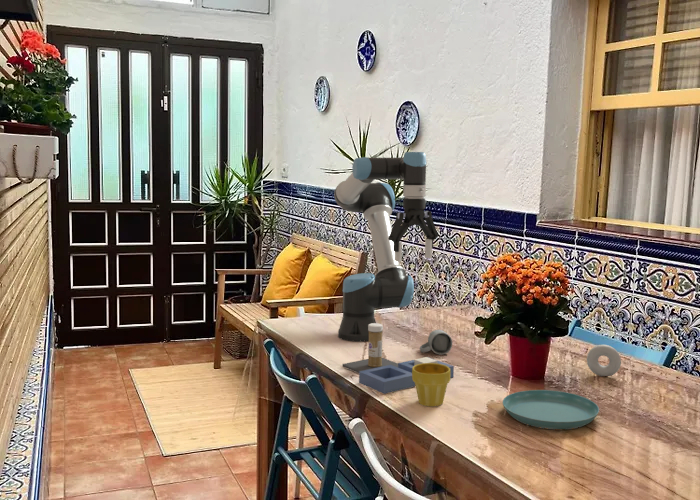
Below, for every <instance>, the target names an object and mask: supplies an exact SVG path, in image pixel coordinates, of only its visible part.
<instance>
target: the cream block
mask: <svg viewBox="0 0 700 500" xmlns="http://www.w3.org/2000/svg"><path fill="white" fill-rule="evenodd" d="M428 357H429V356H426V357H420V358H416V359H413V360H414V366H415V365H417V364H422V363H437V360H438V359H435V360H434V358H432V357H429V358H428ZM431 358H432V359H431Z"/></svg>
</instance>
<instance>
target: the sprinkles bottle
mask: <svg viewBox="0 0 700 500" xmlns="http://www.w3.org/2000/svg"><path fill="white" fill-rule="evenodd" d="M368 330H369V341H368V346H367V347H368V348H367V349H368V350H367V355H368V358H367V359H368V366H370V367H380V366H382V358H383V330H384V328H383V324H382V323H378V322H376V323H371V324H369V325H368Z"/></svg>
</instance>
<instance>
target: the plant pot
mask: <svg viewBox="0 0 700 500" xmlns="http://www.w3.org/2000/svg"><path fill="white" fill-rule="evenodd" d="M412 380H413V381H414V382H415V390H416V395H417V400H418V404H420V405H421V406H423V407H430V408H431V407H432V408H433V407H439V406H441V405H443V403H444V400H445V396H446V391H447V389H448V388H447V387H448V384H449V383H450V381H451V378H450V368H449V367H448V366H446V365H443V364H437V363H422V364H417V365H415V366H413V368H412Z"/></svg>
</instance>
